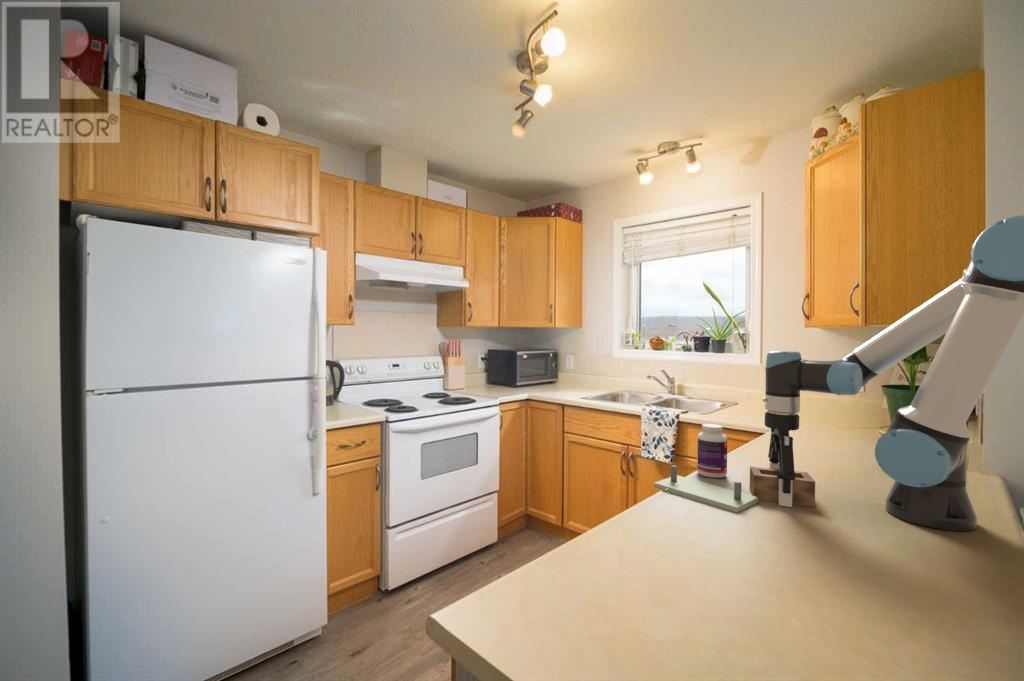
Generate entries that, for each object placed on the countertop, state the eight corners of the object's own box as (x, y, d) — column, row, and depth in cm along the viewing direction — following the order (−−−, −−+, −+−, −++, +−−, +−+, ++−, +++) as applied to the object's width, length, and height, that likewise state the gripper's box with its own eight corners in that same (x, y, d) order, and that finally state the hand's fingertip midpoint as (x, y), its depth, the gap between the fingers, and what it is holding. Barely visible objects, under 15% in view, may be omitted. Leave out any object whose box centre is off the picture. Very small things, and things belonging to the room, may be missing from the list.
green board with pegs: (758, 502, 112) (758, 480, 112) (737, 512, 105) (737, 490, 105) (676, 479, 129) (676, 460, 129) (653, 487, 122) (654, 467, 122)
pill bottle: (730, 480, 129) (731, 429, 128) (699, 478, 130) (700, 427, 130) (722, 471, 137) (723, 423, 136) (694, 469, 138) (695, 422, 138)
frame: (806, 495, 117) (807, 472, 117) (814, 506, 109) (815, 481, 109) (749, 489, 121) (750, 466, 121) (753, 499, 114) (754, 475, 114)
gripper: (757, 404, 128) (756, 479, 128) (773, 419, 105) (771, 511, 105) (788, 406, 125) (786, 483, 126) (811, 422, 102) (809, 517, 103)
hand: (779, 496), depth 116 cm, fingers open, 13 cm apart
